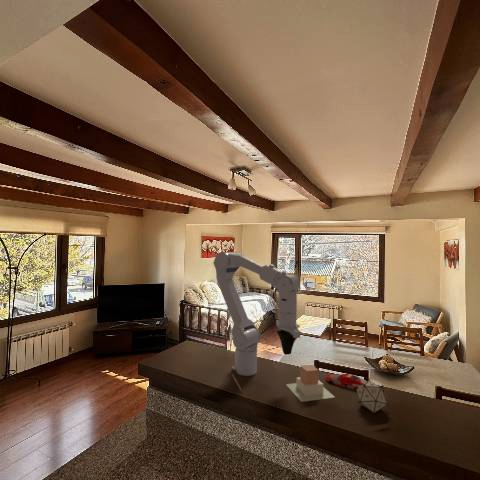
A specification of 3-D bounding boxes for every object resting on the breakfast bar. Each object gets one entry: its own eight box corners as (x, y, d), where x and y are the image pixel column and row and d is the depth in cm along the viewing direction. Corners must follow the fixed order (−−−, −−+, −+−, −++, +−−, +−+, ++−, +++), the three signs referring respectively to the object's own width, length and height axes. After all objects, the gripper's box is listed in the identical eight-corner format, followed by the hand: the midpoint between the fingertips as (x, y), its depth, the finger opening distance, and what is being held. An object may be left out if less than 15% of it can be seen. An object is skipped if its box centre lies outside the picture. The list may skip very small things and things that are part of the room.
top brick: (300, 378, 94) (300, 365, 94) (311, 377, 95) (311, 364, 95) (306, 384, 90) (306, 371, 90) (318, 383, 91) (318, 369, 91)
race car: (323, 385, 99) (323, 373, 99) (328, 379, 103) (328, 367, 103) (366, 396, 92) (366, 383, 92) (369, 389, 96) (369, 376, 96)
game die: (368, 427, 82) (351, 402, 80) (360, 401, 90) (345, 377, 88) (400, 417, 79) (383, 390, 77) (389, 391, 87) (374, 366, 85)
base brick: (296, 387, 95) (296, 377, 95) (313, 385, 96) (313, 375, 96) (305, 396, 89) (305, 386, 89) (323, 394, 91) (323, 384, 91)
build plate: (285, 386, 97) (285, 384, 97) (316, 383, 99) (316, 380, 99) (301, 404, 86) (301, 401, 86) (335, 399, 89) (335, 397, 89)
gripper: (309, 316, 92) (309, 361, 91) (289, 306, 106) (288, 345, 105) (288, 317, 90) (287, 363, 90) (270, 307, 104) (270, 346, 104)
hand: (287, 353), depth 97 cm, fingers closed
